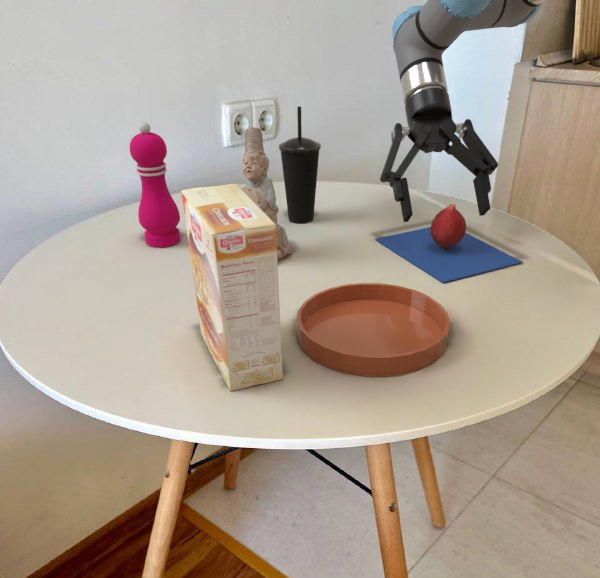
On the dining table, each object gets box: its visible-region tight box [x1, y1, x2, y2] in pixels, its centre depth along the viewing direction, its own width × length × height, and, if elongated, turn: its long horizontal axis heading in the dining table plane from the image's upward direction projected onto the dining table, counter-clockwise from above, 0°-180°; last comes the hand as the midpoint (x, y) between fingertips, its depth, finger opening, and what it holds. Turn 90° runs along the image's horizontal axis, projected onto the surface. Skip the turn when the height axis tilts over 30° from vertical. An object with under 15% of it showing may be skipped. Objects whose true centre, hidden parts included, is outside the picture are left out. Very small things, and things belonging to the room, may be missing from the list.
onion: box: [429, 202, 467, 250], centre depth 99 cm, size 6×6×8 cm
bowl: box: [296, 282, 451, 377], centre depth 79 cm, size 20×20×3 cm
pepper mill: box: [129, 122, 181, 248], centre depth 102 cm, size 7×7×20 cm
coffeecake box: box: [180, 183, 284, 392], centre depth 70 cm, size 15×7×20 cm, turn 21°
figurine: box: [240, 127, 293, 260], centre depth 96 cm, size 9×8×20 cm
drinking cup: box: [278, 106, 322, 224], centre depth 109 cm, size 8×8×20 cm
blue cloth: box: [374, 226, 524, 284], centre depth 102 cm, size 20×16×1 cm
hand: (447, 215), depth 99 cm, fingers open, 13 cm apart
